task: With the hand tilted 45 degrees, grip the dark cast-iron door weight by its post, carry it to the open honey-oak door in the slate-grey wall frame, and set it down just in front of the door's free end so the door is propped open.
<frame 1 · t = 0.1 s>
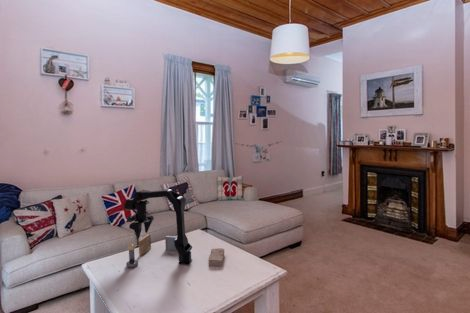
hand: (142, 235, 175), 15 cm above the table, tool pointing down, fingers open, 9 cm apart
brick: (216, 261, 172), on the table
door weight: (132, 265, 166), on the table
door: (145, 244, 184), point 5 cm above the table, hinge at 0.0°
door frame: (165, 249, 189), on the table
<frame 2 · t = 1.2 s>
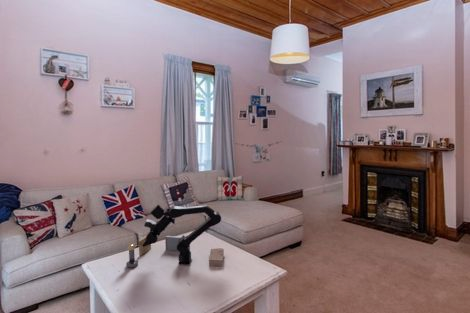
hand: (144, 243, 166), 13 cm above the table, tool tilted 45°, fingers open, 9 cm apart
nothing on the table moved.
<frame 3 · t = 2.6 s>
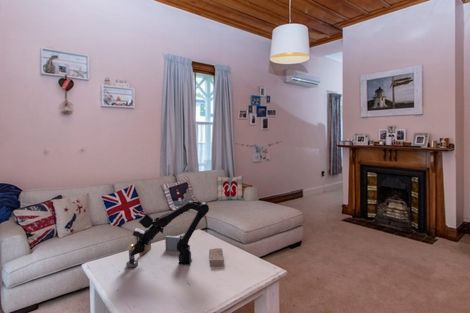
hand: (132, 252, 165), 8 cm above the table, tool tilted 45°, fingers open, 9 cm apart
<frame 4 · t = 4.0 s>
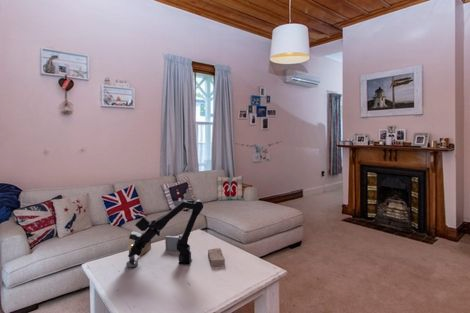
hand: (129, 255, 165), 7 cm above the table, tool tilted 45°, fingers closed on door weight, 3 cm apart
door weight: (132, 265, 166), on the table, touching gripper
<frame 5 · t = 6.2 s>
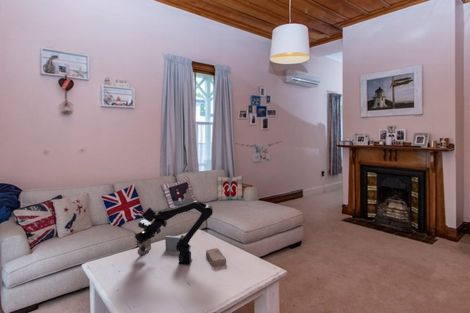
hand: (140, 242, 173), 11 cm above the table, tool tilted 45°, fingers closed on door weight, 3 cm apart
door weight: (143, 252, 173), point 5 cm above the table, touching gripper
when the fingers open (7 cm above the table, at t = 8.3 s): door weight stays where it is, on the table.
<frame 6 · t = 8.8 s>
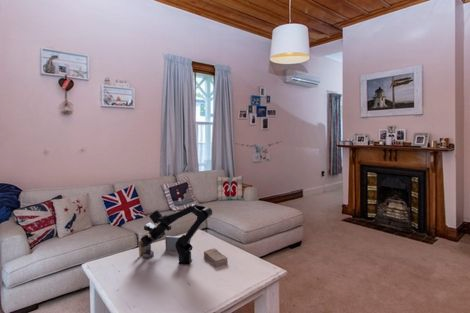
hand: (146, 244, 179), 8 cm above the table, tool tilted 45°, fingers open, 8 cm apart
door weight: (148, 256, 179), on the table
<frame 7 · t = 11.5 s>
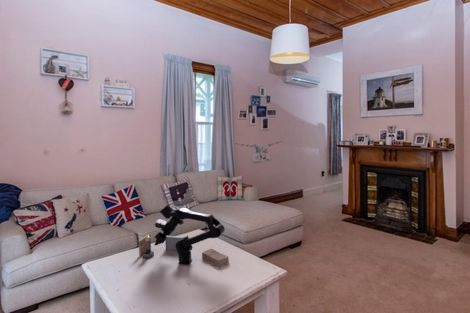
hand: (158, 241, 175), 11 cm above the table, tool tilted 40°, fingers open, 9 cm apart
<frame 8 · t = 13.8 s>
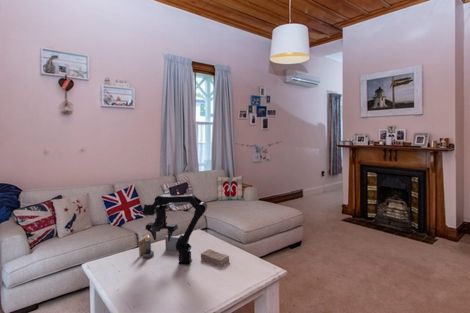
hand: (161, 240, 170), 13 cm above the table, tool pointing down, fingers open, 9 cm apart
at the end: door weight 0.6 cm from the target spot, on the table; door weight tilted 0°; door at +0° (first picture: +0°) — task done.
